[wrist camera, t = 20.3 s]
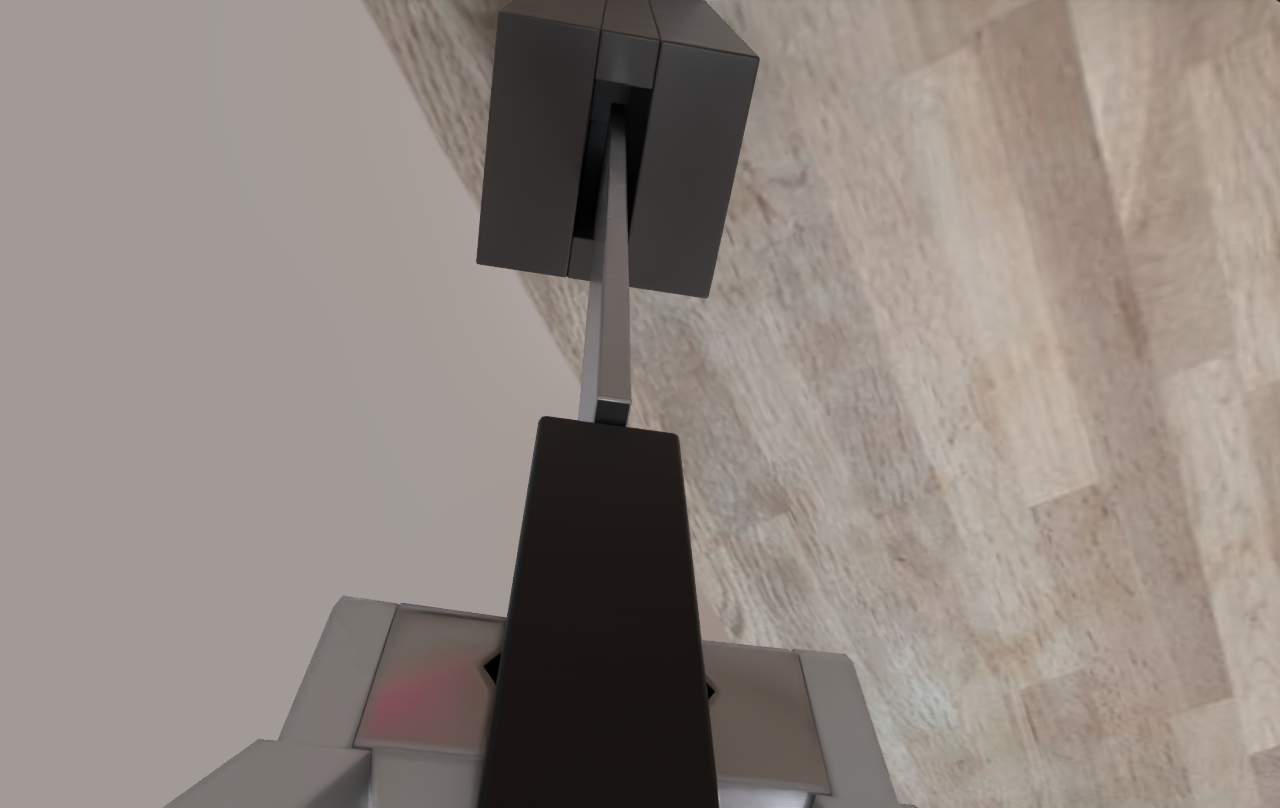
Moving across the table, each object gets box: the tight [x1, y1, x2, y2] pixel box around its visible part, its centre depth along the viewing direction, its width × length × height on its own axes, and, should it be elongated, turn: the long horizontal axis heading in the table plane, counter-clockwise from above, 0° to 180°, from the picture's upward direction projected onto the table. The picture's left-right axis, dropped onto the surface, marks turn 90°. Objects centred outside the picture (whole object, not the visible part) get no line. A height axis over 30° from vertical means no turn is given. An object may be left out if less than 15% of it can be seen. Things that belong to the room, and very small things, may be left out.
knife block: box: [476, 0, 760, 298], centre depth 34 cm, size 7×7×18 cm
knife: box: [476, 103, 720, 808], centre depth 16 cm, size 2×3×25 cm, turn 170°
